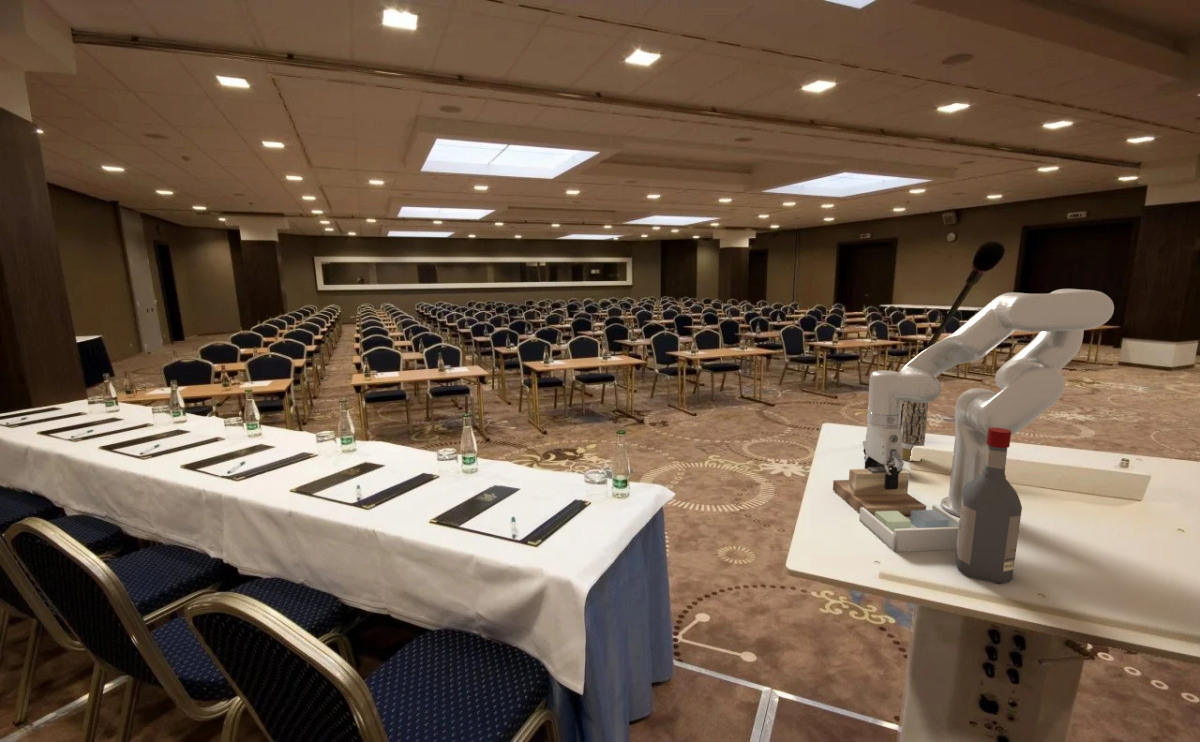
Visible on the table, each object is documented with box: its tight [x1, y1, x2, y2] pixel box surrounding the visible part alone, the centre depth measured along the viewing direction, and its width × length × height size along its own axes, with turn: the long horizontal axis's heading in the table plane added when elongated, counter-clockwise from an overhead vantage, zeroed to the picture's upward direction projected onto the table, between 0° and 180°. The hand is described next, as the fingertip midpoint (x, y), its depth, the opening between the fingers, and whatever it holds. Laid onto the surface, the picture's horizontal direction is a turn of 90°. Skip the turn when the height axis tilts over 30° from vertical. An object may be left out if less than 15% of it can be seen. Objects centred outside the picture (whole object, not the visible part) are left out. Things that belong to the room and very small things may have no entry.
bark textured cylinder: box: [900, 401, 929, 462], centre depth 172 cm, size 7×7×25 cm
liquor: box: [955, 427, 1023, 585], centre depth 107 cm, size 9×9×30 cm
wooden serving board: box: [832, 479, 927, 517], centre depth 142 cm, size 18×15×3 cm
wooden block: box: [848, 467, 910, 496], centre depth 141 cm, size 4×14×7 cm, turn 92°
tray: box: [859, 504, 960, 553], centre depth 125 cm, size 15×19×5 cm
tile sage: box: [875, 511, 911, 532], centre depth 127 cm, size 6×6×3 cm
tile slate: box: [910, 509, 949, 528], centre depth 127 cm, size 6×6×3 cm
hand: (880, 481), depth 141 cm, fingers open, 9 cm apart
